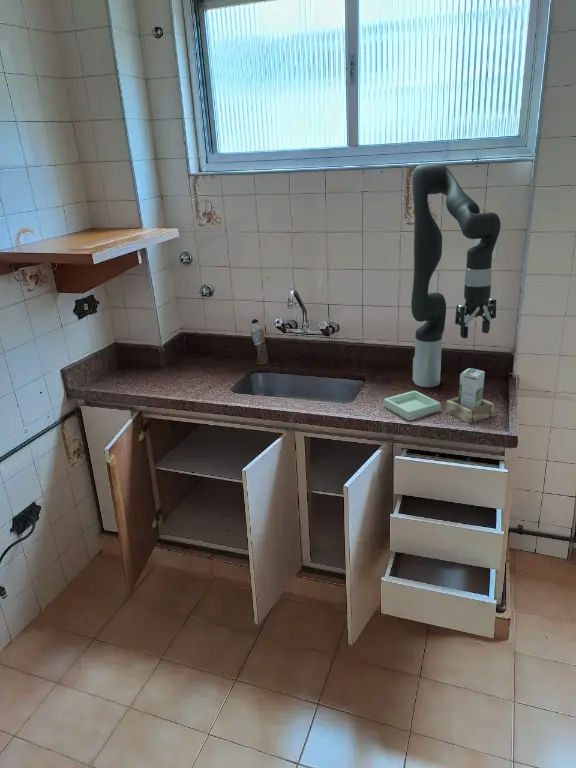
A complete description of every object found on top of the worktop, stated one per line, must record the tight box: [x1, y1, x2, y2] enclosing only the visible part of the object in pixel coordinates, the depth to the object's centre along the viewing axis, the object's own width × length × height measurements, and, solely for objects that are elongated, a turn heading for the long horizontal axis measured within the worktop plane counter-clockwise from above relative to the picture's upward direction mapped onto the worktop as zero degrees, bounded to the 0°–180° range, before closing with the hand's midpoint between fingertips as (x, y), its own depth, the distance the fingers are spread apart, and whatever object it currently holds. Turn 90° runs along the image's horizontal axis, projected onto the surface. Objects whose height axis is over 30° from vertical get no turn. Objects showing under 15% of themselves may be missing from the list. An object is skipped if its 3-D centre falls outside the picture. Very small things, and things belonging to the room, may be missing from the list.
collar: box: [445, 396, 495, 424], centre depth 187 cm, size 10×10×4 cm
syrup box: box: [458, 367, 486, 410], centre depth 185 cm, size 6×6×14 cm
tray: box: [383, 390, 441, 419], centre depth 193 cm, size 13×13×3 cm
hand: (474, 335), depth 179 cm, fingers open, 8 cm apart
